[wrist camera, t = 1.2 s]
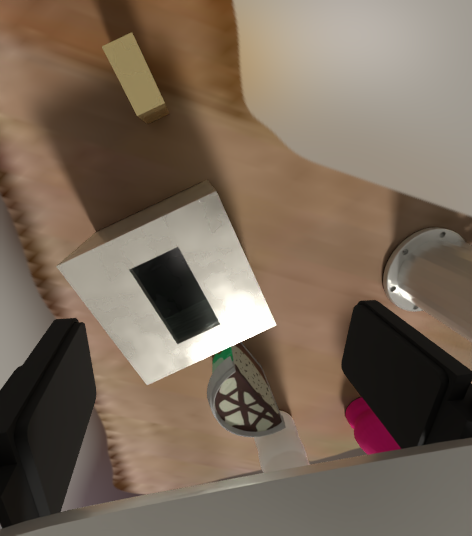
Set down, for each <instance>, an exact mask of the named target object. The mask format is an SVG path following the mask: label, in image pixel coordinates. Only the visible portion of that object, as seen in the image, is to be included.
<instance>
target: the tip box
mask: <svg viewBox="0 0 472 536" xmlns="http://www.w3.org/2000/svg"><path fill="white" fill-rule="evenodd" d="M56 267H57V268H58V269H59V271H60V272H61V273H62V274H63V276H64V277H65V278H66V280H67V281H68V282H69V284H70V285H71V286H72V288H73V289H74V290H75V291H76V293H77V294H78V295H79V297H80V298H81V299H82V301H83V302H84V303H85V305H86V306H87V307H88V309H89V310H90V311H91V312H92V314H93V315H94V316H95V318H96V319H97V320H98V322H99V323H100V324H101V326H102V327H103V328H104V329H105V331H106V332H107V333H108V335H109V336H110V337H111V339H112V340H113V341H114V343H115V344H116V345H117V347H118V348H119V349H120V350H121V352H122V353H123V354H124V356H125V357H126V358H127V360H128V361H129V362H130V364H131V365H132V366H133V368H134V369H135V370H136V371H137V373H138V374H139V375H140V377H141V378H142V379H143V381H144V382H145V383H146V385H148V384H151V383H153V382H155V381H157V380H159V379H161V378H164V377H166V376H168V375H170V374H172V373H174V372H177V371H179V370H181V369H183V368H185V367H187V366H190V365H192V364H194V363H196V362H198V361H200V360H202V359H205V358H207V357H209V356H211V355H213V354H215V353H218V352H220V351H222V350H224V349H226V348H228V347H231V346H233V345H235V344H237V343H239V342H241V341H244V340H246V339H248V338H250V337H252V336H254V335H257V334H259V333H261V332H263V331H265V330H267V329H269V328H272V327H274V326H276V323H275V321H274V319H273V316H272V314H271V312H270V310H269V307H268V305H267V303H266V301H265V298H264V296H263V294H262V292H261V290H260V287H259V285H258V283H257V281H256V278H255V276H254V274H253V272H252V269H251V267H250V265H249V263H248V261H247V258H246V256H245V254H244V252H243V249H242V247H241V245H240V243H239V240H238V238H237V236H236V234H235V232H234V229H233V227H232V225H231V223H230V220H229V218H228V216H227V214H226V211H225V209H224V207H223V205H222V203H221V200H220V198H219V196H218V194H217V191H216V190H215V189H214V187H213V186H212V185H211V184H210V182H209V181H208V180H205V181H203V182H201V183H199V184H197V185H195V186H193V187H190V188H188V189H186V190H184V191H182V192H180V193H178V194H176V195H173V196H171V197H169V198H167V199H165V200H163V201H161V202H159V203H156V204H154V205H152V206H150V207H148V208H146V209H144V210H142V211H140V212H137V213H135V214H133V215H131V216H129V217H127V218H125V219H123V220H120V221H118V222H116V223H114V224H112V225H110V226H108V227H106V228H103V229H101V230H99V231H97V232H95V233H94V234H93V235H92V236H91V237H90V238H88V239H87V240H86V241H85V242H84V243H83V244H82V245H80V246H79V247H78V248H77V249H76V250H75V251H73V252H72V253H71V254H70V255H69V256H68V257H66V258H65V259H64V260H63V261H62V262H61V263H59V264H58V265H57V266H56Z"/></svg>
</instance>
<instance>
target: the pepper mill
mask: <svg viewBox="0 0 472 536" xmlns="http://www.w3.org/2000/svg"><path fill="white" fill-rule="evenodd" d="M345 415H346V419H347V421H348V422H349V424H350V425H351V427H352V428H353V429H354V436H355V439H356V441H357V443H358V444H359V446H360V447H361V448H362V449H363V450H364V451H365V452H366V453H367V454H368V455H369V454H375V453H381V452H387V451H392V450H398V449H401V448H400V446H399V445H398V444H397V442H396V441H395V440H394V438H393V437H392V436H391V435H390V433H389V432H388V431H387V429H386V428H385V427H384V425H383V424H382V423H381V421H380V420H379V419H378V417H377V416H376V415H375V413H374V412H373V411H372V410H371V408H370V407H369V406H368V404H367V403H366V402H365V400H364V399H363V398H362V397H360V398H358V399H356V400H354V401H353V402H352V403H351V404H350V405H349V406H348V407H347V409H346V413H345Z"/></svg>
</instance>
